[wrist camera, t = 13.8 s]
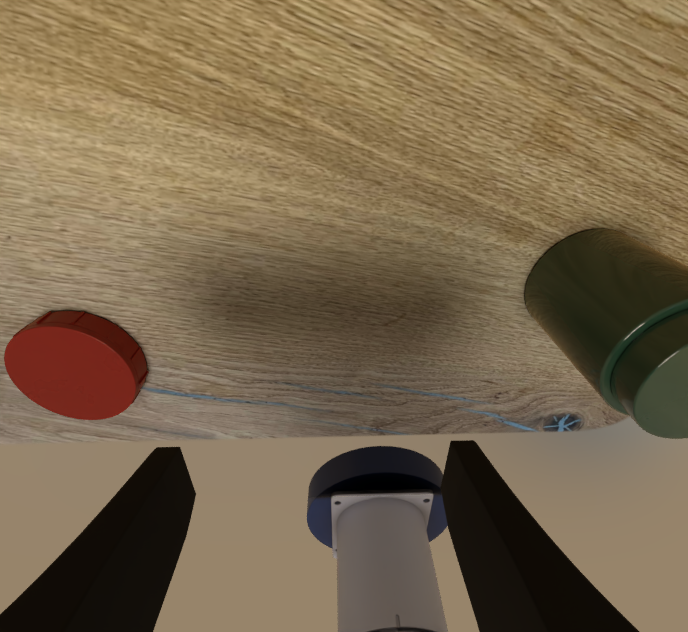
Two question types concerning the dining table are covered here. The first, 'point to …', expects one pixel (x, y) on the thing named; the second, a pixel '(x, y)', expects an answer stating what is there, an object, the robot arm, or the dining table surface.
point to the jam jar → (619, 323)
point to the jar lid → (76, 365)
